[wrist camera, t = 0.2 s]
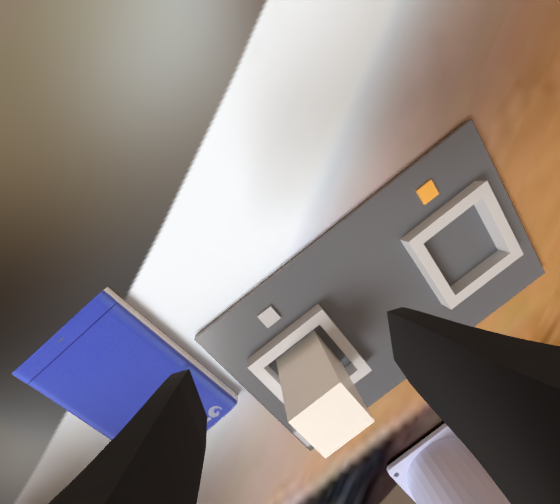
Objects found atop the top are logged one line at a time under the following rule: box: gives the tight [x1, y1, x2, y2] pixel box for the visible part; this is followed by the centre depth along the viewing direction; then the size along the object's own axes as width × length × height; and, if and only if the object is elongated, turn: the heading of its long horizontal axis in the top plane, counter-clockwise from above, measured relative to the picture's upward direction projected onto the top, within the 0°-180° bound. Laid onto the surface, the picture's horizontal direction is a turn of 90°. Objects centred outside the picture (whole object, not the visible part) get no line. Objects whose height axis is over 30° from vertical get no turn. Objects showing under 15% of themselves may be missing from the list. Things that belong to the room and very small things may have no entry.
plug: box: [276, 330, 375, 459], centre depth 17 cm, size 4×4×6 cm
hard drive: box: [12, 286, 238, 440], centre depth 19 cm, size 2×8×12 cm
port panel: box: [194, 120, 545, 451], centre depth 20 cm, size 14×24×2 cm, turn 128°
